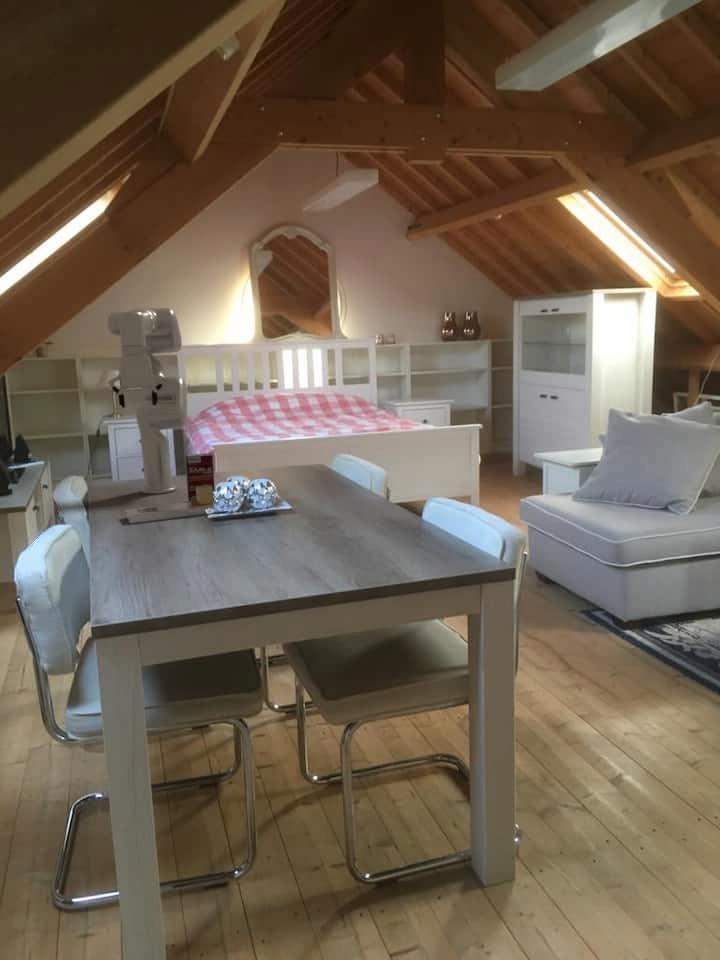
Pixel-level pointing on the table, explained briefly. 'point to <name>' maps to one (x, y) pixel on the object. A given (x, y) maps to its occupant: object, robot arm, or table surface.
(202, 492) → the yellow rectangular block
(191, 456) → the supplement box
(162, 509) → the grey board
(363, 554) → the table surface
